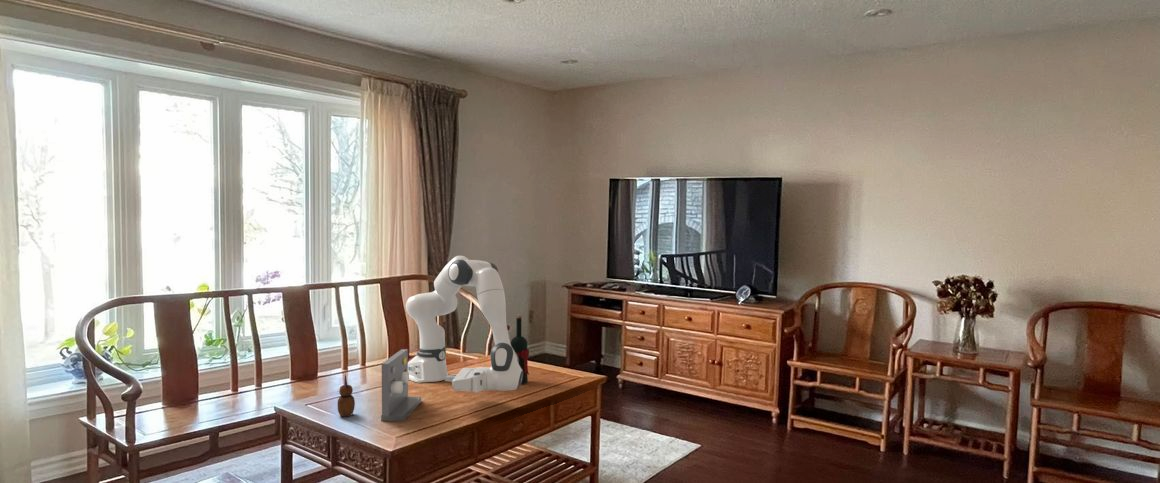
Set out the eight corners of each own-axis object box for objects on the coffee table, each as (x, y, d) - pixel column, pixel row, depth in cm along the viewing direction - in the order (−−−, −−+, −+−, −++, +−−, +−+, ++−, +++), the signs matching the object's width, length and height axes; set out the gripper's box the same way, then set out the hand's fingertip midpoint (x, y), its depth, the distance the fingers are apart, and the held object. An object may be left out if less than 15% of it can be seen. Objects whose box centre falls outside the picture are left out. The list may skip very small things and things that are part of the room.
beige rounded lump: (409, 381, 259) (409, 370, 259) (405, 384, 255) (405, 373, 255) (401, 381, 259) (401, 370, 259) (397, 384, 255) (397, 373, 255)
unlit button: (403, 391, 245) (403, 380, 245) (399, 395, 241) (399, 383, 241) (394, 391, 245) (394, 379, 245) (390, 394, 241) (390, 383, 241)
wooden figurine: (340, 412, 248) (340, 373, 247) (356, 412, 248) (356, 373, 248) (335, 418, 241) (335, 378, 240) (351, 418, 242) (351, 377, 241)
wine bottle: (520, 386, 285) (520, 318, 283) (506, 382, 292) (506, 315, 291) (534, 383, 290) (534, 316, 289) (520, 379, 298) (520, 313, 296)
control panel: (421, 401, 262) (420, 349, 261) (403, 421, 238) (402, 364, 237) (401, 401, 263) (400, 349, 262) (381, 421, 239) (380, 363, 238)
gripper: (485, 364, 266) (451, 363, 267) (475, 377, 246) (439, 376, 246) (485, 379, 267) (451, 379, 267) (476, 393, 246) (439, 393, 247)
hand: (445, 378), depth 256 cm, fingers closed
